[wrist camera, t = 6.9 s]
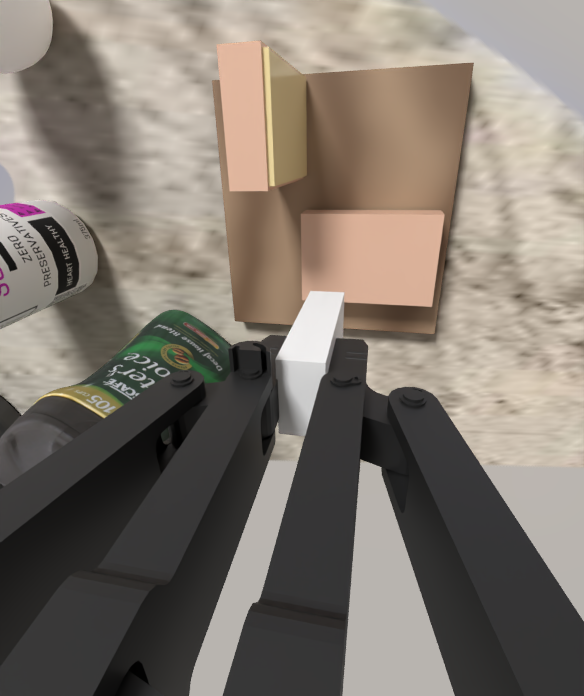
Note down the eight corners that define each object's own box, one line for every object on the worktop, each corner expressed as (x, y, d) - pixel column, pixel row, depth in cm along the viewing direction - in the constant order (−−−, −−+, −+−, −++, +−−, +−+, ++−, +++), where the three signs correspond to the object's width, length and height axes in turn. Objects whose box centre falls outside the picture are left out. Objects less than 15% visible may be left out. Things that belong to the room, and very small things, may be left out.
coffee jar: (258, 357, 37) (152, 524, 20) (215, 408, 40) (97, 583, 24) (172, 290, 35) (-13, 410, 19) (136, 349, 39) (-44, 490, 23)
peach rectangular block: (302, 300, 29) (431, 306, 27) (300, 214, 26) (444, 214, 25) (307, 290, 31) (429, 295, 29) (307, 209, 28) (440, 209, 27)
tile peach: (275, 179, 28) (229, 191, 20) (271, 76, 25) (216, 44, 17) (307, 178, 28) (273, 191, 20) (306, 73, 25) (267, 39, 17)
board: (240, 314, 35) (235, 321, 34) (220, 83, 27) (212, 80, 26) (432, 326, 32) (434, 334, 30) (469, 67, 24) (473, 62, 23)
